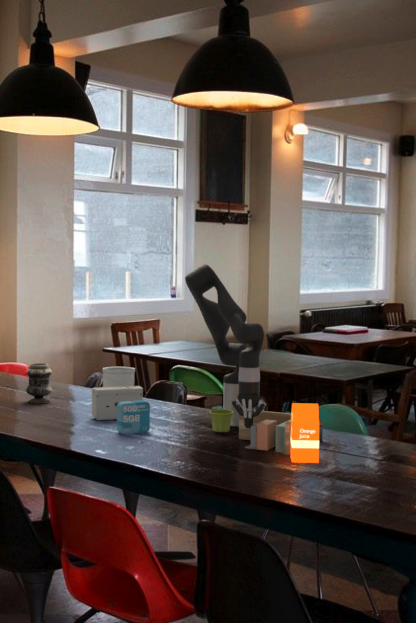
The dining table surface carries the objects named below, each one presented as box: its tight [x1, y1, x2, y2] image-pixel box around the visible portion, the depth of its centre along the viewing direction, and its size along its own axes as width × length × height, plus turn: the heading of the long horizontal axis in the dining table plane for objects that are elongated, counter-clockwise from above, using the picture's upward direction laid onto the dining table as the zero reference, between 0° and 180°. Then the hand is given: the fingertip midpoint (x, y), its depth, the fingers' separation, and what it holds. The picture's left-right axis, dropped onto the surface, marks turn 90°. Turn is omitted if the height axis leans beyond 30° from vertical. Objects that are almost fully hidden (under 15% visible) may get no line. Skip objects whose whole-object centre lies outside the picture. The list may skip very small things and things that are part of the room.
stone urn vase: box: [25, 362, 53, 404], centre depth 395 cm, size 12×12×18 cm
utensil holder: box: [102, 366, 136, 387], centre depth 385 cm, size 15×15×18 cm
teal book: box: [275, 421, 287, 454], centre depth 292 cm, size 10×4×9 cm, turn 154°
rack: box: [238, 409, 292, 456], centre depth 297 cm, size 16×25×12 cm, turn 64°
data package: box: [116, 400, 151, 435], centre depth 326 cm, size 12×4×12 cm, turn 118°
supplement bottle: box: [319, 413, 323, 444], centre depth 307 cm, size 6×6×11 cm
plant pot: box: [209, 408, 234, 433], centre depth 325 cm, size 9×9×9 cm
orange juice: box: [289, 402, 320, 467], centre depth 277 cm, size 8×9×20 cm
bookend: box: [244, 421, 262, 450], centre depth 297 cm, size 10×4×8 cm, turn 154°
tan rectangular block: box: [255, 420, 277, 451], centre depth 295 cm, size 4×9×9 cm, turn 154°
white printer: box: [91, 372, 144, 421], centre depth 354 cm, size 21×8×20 cm, turn 108°
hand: (248, 428), depth 299 cm, fingers closed
